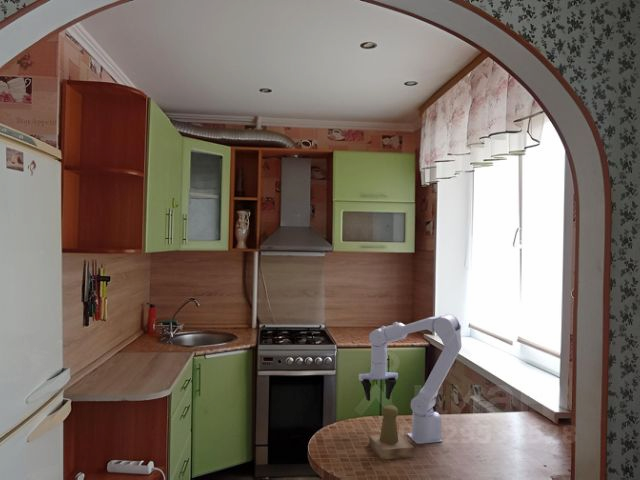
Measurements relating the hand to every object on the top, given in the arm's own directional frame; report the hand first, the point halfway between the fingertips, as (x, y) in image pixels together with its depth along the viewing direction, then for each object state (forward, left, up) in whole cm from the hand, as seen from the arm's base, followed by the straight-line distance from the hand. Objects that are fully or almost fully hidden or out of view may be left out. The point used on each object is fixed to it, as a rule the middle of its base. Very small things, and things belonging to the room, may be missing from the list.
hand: (377, 399), depth 174 cm
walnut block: (+3, +19, -10) cm, 21 cm away
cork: (+3, +18, -8) cm, 19 cm away
